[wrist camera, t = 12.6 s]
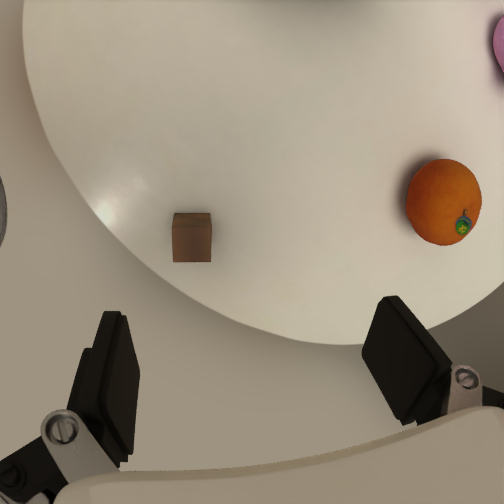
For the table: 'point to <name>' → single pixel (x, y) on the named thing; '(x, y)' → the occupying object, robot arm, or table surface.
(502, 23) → the teapot
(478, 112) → the table surface
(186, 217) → the block
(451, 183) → the fruit
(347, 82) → the table surface
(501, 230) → the table surface
